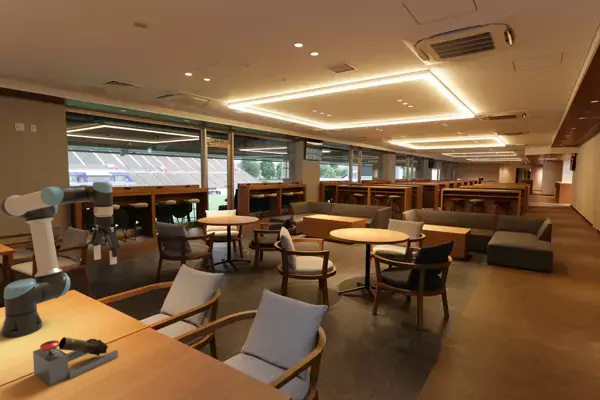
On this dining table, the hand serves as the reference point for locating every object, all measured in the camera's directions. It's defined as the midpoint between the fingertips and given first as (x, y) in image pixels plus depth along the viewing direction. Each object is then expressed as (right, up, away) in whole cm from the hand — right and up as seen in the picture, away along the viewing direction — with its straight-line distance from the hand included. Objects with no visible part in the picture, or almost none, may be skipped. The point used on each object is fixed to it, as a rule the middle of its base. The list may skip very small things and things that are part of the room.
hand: (105, 261), depth 157 cm
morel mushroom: (+2, -32, -21) cm, 39 cm away
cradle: (+2, -37, -22) cm, 43 cm away
